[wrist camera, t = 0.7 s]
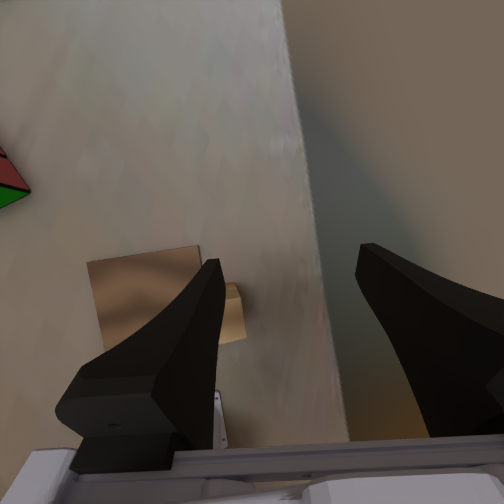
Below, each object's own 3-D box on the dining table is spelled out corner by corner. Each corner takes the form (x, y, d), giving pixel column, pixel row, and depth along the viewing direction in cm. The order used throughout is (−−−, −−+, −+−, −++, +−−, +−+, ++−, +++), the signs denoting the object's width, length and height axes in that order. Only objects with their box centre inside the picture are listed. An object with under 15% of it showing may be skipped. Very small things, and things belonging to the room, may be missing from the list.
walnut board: (216, 358, 35) (217, 361, 34) (114, 382, 33) (112, 385, 32) (198, 245, 33) (197, 245, 33) (89, 261, 31) (86, 262, 30)
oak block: (239, 313, 35) (246, 338, 26) (213, 318, 35) (212, 345, 26) (234, 282, 35) (240, 297, 26) (208, 286, 34) (205, 303, 25)
